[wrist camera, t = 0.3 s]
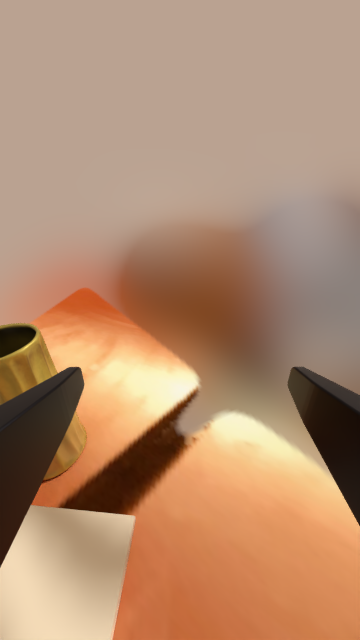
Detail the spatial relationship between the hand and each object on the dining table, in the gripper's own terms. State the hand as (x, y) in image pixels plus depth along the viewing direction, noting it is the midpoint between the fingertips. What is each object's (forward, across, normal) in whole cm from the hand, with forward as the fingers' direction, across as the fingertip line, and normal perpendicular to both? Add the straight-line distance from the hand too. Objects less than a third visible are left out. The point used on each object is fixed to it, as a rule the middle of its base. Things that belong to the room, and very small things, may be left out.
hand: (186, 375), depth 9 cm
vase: (+8, +14, +16) cm, 22 cm away
